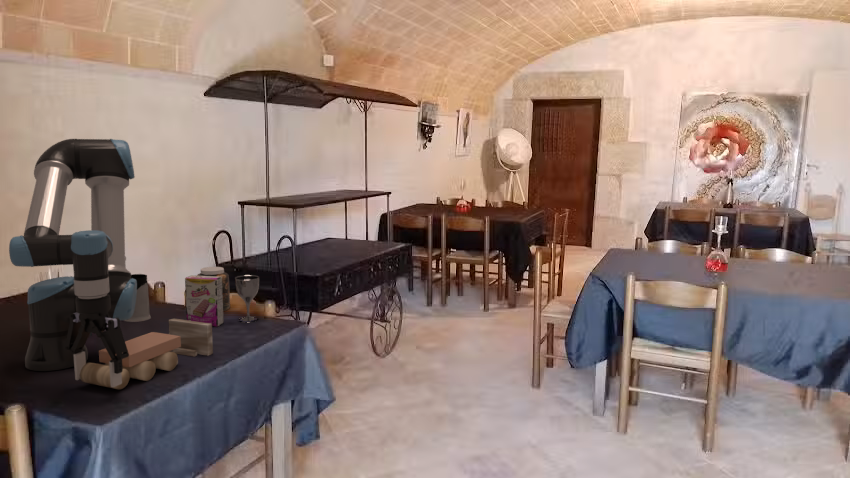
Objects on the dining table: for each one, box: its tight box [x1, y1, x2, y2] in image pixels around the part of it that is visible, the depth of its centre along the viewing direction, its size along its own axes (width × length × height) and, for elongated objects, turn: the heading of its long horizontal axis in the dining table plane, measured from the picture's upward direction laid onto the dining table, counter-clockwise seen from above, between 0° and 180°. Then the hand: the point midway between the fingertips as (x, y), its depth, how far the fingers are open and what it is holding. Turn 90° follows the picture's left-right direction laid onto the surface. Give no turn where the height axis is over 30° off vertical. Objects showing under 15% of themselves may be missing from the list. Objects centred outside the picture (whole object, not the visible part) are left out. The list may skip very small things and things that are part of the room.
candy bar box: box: [184, 274, 224, 327], centre depth 214 cm, size 11×5×16 cm, turn 84°
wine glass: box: [234, 274, 260, 321], centre depth 221 cm, size 8×8×15 cm
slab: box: [98, 331, 181, 367], centre depth 169 cm, size 18×10×3 cm, turn 159°
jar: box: [196, 266, 231, 312], centre depth 235 cm, size 12×12×15 cm
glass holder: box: [123, 273, 152, 323], centre depth 221 cm, size 9×14×15 cm, turn 81°
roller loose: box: [80, 362, 131, 390], centre depth 159 cm, size 5×11×5 cm
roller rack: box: [104, 317, 214, 382], centre depth 176 cm, size 26×14×9 cm, turn 159°
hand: (98, 381), depth 157 cm, fingers closed on roller loose, 11 cm apart
